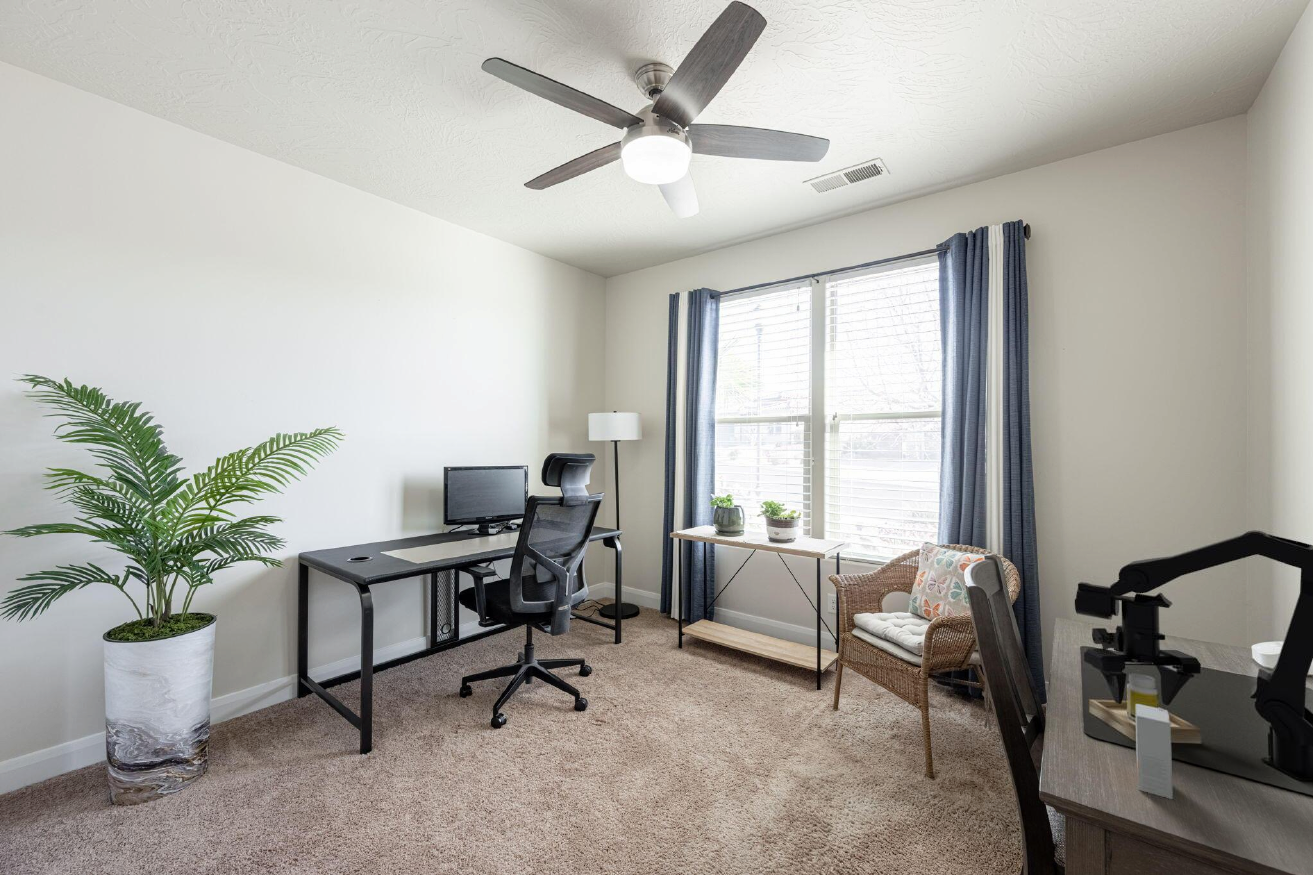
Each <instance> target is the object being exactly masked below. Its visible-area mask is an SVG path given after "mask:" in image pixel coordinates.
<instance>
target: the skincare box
mask: <svg viewBox="0 0 1313 875" xmlns="http://www.w3.org/2000/svg"><path fill="white" fill-rule="evenodd" d="M1135 712H1136V741H1135V750H1136V751H1135V752H1136V773H1137V788H1138V790H1139V791H1140V790H1141V792H1145V793H1147V792H1148V794H1151V795H1154V794H1155V796H1157V797H1161V798H1164V797H1166V798H1165V799H1168V798H1169V800H1173V796H1174V795H1173V794H1174V793H1173V768H1172V767H1173V766H1172V765H1173V764H1172V763H1173V762H1172V757H1173V756H1172V742H1171V726H1170V719H1169V714H1168V712H1169V710H1167V709H1164V710H1163V708H1162V709H1159V708H1154V707H1150V706H1146V705H1141V704H1136V707H1135Z"/></svg>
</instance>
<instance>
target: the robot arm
mask: <svg viewBox="0 0 1313 875" xmlns="http://www.w3.org/2000/svg"><path fill="white" fill-rule="evenodd" d="M1257 555H1258V556H1261V557H1265V558H1267V559H1271V560H1273V561H1276V562H1279V563H1282V564H1285V565H1289V566H1291V567H1294V568H1298V569H1300V583H1299V584H1300V585H1299V586H1300V587H1299V595H1298V598H1297V600H1296V604H1295V607H1294V610H1293V613H1292V616H1291V618H1290V622H1289V624H1288V627H1287V630H1286V633H1285V634H1286V635H1285V637H1284V639H1283V643H1282V645H1281V648H1280V651H1279V655H1278V658H1277V661H1276V664H1275V665H1274V667H1273V668H1272V669H1271V671H1270V672H1268V671H1266V670H1263V669H1262V668H1258V672H1257V676H1256V683H1255V685H1252V689H1251V692H1250V699H1252V700H1253V699H1255V700H1254V708H1255V711H1256V712H1257V713H1258V715H1259V716H1260V717H1261V718H1263V719H1264V720H1265V721H1266V722H1268V723H1269V724H1270V725H1269V726H1268V727H1269V732H1268V733H1267V748H1268V749H1267V750H1268V752H1267V753H1268V754H1267V755H1268V756H1261V757H1260V761H1262V762H1264V763H1266V764H1268V765H1270V766H1271V767H1273V768H1275V769H1277V770H1279V771H1281V772H1283V773H1284V774H1287V775H1288V776H1290V777H1292V778H1294V779H1296V780H1299V781H1306V782H1307V781H1309V782H1310V781H1311V782H1313V712H1312V711H1311V710H1310V709H1309V708H1308V707H1307V706H1306V691H1307V690H1306V689H1307V688H1306V687H1307V677H1308V676H1309V675H1308V674H1309V671H1310V669H1311V666H1312V662H1313V545H1312V544H1310V543H1306V542H1302V541H1298V540H1294V539H1290V538H1285V537H1281V536H1276V535H1273V534H1270V533H1269V534H1268V533H1266V532H1265V531H1263V530H1248V531H1245V532H1244V533H1243V534H1240V535H1236V536H1234V537H1230V538H1227V539H1223V540H1221V541H1217V542H1214V543H1210V544H1208V545H1204V546H1201V547H1198V548H1193V549H1191V550H1188V551H1184V552H1181V553H1178V554H1174V555H1170V556H1165V557H1164V556H1161V557H1154V558H1147V559H1141V560H1135V561H1131V562H1129V563H1127V564H1125V565H1124V566H1122V567H1121V568H1120V570H1119V572H1118V580H1117V581H1116V582H1113V583H1112V584H1110V586H1105V585H1097V584H1092V583H1089V582H1084V581H1081V582H1079V583H1077V590H1076V595H1075V598H1074V609H1075V612H1076V614H1077V615H1082V616H1087V617H1091V618H1092V617H1093V618H1099V619H1103V620H1111V621H1112V619H1113V617H1114V616H1115V617H1118V616H1119V614H1120V606H1121V625H1116V627H1115V632H1108V630H1107V629H1106V628H1105V627H1103V628H1101V627H1100V628H1099V627H1093V628H1092V629H1091V631H1092V633H1091V638H1092V642H1093V643H1094V644H1095V645H1101V646H1102V648H1097V647H1096V648H1095V647H1094V648H1092V647H1091V648H1090V647H1088V648H1087V649H1085V651H1084V652H1083V661H1084V662H1085V663H1087V664H1089V665H1090V666H1091V667H1093V668H1095V669H1096V670H1098V671H1099V672H1100V673H1101V674H1102V676H1103V678H1104V680H1105V681H1106V684H1107V686H1108V688H1109V691H1110V693H1111V695H1112V697H1113V700H1115V702H1116V703H1118V704H1121V703H1122V701H1124V700H1123V699H1124V694H1125V689H1126V681H1127V673H1125V672H1124V670H1125V669H1126V666H1127V665H1128V666H1155V667H1156V668H1157V670H1158V673H1159V676H1160V696H1161V702H1162V704H1163V705H1165V706H1170V705H1171V703H1173V702H1172V701H1173V700H1174V699H1175V698H1176V696H1177V694H1178V693H1179V692H1180V691H1181V690H1182V689H1183V687H1184V686H1185V685H1186V683H1188V682H1189V680H1191V679H1194V678H1195V677H1196V676H1195V674H1198V675H1199V674H1200V675H1201V674H1202V663H1201V662H1200V661H1199V659H1198V658H1197V657H1195V656H1193V655H1190V654H1187V653H1185V652H1182V651H1181V650H1177V649H1161V648H1160V646H1161V645H1160V644H1161V641H1166V634H1163V633H1161V632H1160V608H1165V609H1169V608H1170V607H1171V606H1172V605H1173V602H1172V601H1171V600H1169V599H1168V597H1167V598H1166V596H1165V595H1164V594H1163V592H1158V594H1157V595H1152V594H1151V595H1150V594H1146V593H1150V592H1151V591H1154V590H1155V589H1157V588H1159V587H1162V586H1163V585H1166V584H1168V583H1170V582H1171V581H1174V580H1175V579H1178V578H1181V576H1185V575H1189V574H1192V573H1196V572H1200V571H1203V570H1206V569H1210V568H1213V567H1217V566H1220V565H1223V564H1228V563H1231V562H1235V561H1237V560H1241V559H1245V558H1248V557H1252V556H1257ZM1132 592H1133V593H1135V595H1134V596H1128V595H1127V594H1129V593H1132ZM1120 602H1121V605H1120ZM1108 649H1113V651H1116V652H1118V653H1122V654H1117V653H1115V652H1113V651H1111V650H1108Z"/></svg>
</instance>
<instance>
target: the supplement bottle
mask: <svg viewBox="0 0 1313 875" xmlns="http://www.w3.org/2000/svg"><path fill="white" fill-rule="evenodd" d="M1128 682H1129V683H1127V684H1126V701H1127V715H1128V717H1129V718H1131V719H1132V720H1134V721H1136V712H1135V707H1136V704H1141V705H1146V706H1150V707H1154V708H1158V707H1159V692H1158V690H1157V689H1156V685H1157V684H1156V679H1155V678H1154V677H1152V676H1149V675H1145V674H1142V673H1141V674H1140V673H1129V674H1128Z"/></svg>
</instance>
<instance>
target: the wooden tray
mask: <svg viewBox="0 0 1313 875" xmlns="http://www.w3.org/2000/svg"><path fill="white" fill-rule="evenodd" d="M1088 700H1089V701H1088V703H1089V704H1088V708H1089V709H1088V710H1089V711H1088V712H1089V713H1090V714H1092V715H1093V716H1095V717H1096V718H1098V719H1099V720H1101V721H1103V722H1104V723H1106V725H1109V726H1110V727H1113V729H1115V730H1117V731H1118V732H1120V733H1121V734H1123V735H1124V736H1126V737H1127V738H1129V739H1131V740H1132V741H1133V742H1136V721H1134V720H1132V719H1131V718H1129V717H1128V715H1127V700H1122V703H1121V704H1118V703H1116V702H1115V700H1114V699H1111V700H1110V699H1088ZM1158 708H1159V709H1163V708H1162V707H1159V706H1158ZM1163 710H1165V709H1163ZM1168 714H1169V719H1170V726H1171V743H1177V744H1178V743H1180V744H1202V729H1201V728H1199V727H1197V726H1195V725H1194V724H1193V723H1192V724H1191V723H1190V722H1188V721H1186V720H1184V719H1182V718H1181V717H1178V716H1177V715H1174V714H1173V713H1172V712H1169V711H1168Z"/></svg>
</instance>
